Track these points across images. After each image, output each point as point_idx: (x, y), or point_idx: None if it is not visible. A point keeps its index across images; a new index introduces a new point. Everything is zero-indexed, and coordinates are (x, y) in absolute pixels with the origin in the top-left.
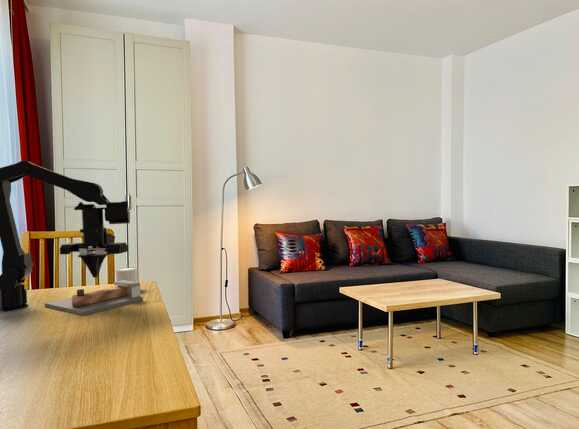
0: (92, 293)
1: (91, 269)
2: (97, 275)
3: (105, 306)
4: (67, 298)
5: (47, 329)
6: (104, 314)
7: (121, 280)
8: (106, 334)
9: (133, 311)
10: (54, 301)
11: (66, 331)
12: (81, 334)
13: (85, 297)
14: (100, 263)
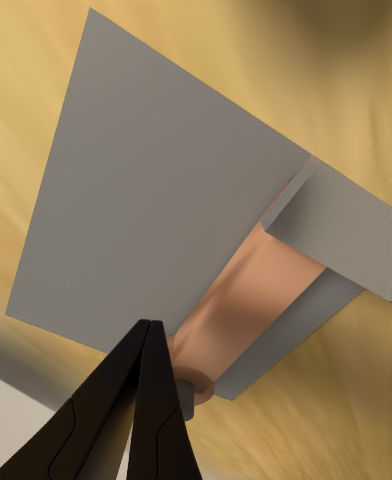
0: (213, 363)
1: (129, 424)
2: (163, 334)
3: (281, 356)
4: (27, 246)
5: (206, 451)
6: (294, 385)
7: (318, 180)
8: (345, 474)
9: (385, 367)
10: (19, 294)
11: (255, 460)
12: (294, 471)
13: (210, 393)
14: (180, 453)
